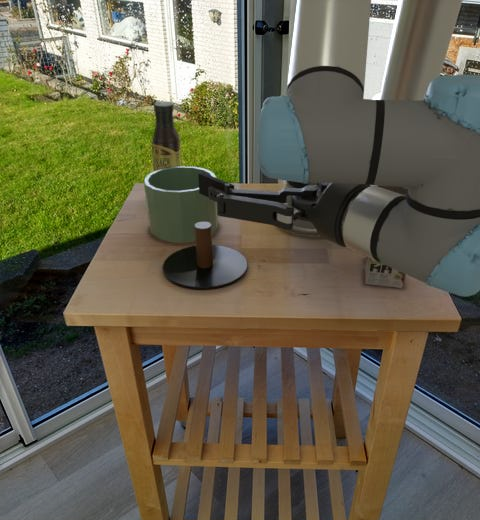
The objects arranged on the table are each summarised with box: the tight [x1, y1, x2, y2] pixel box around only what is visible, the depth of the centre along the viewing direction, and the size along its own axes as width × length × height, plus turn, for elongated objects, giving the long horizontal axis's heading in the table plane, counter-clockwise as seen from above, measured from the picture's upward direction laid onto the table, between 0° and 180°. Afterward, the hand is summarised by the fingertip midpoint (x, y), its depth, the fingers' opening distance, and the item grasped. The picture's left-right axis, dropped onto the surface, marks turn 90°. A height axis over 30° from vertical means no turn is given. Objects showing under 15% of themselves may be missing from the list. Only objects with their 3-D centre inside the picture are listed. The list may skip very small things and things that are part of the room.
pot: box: [143, 165, 219, 243], centre depth 98 cm, size 14×14×10 cm
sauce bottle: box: [151, 100, 182, 172], centre depth 110 cm, size 7×6×20 cm
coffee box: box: [364, 186, 408, 289], centre depth 81 cm, size 9×6×16 cm
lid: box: [162, 222, 248, 291], centre depth 85 cm, size 15×15×9 cm
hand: (239, 171), depth 70 cm, fingers open, 13 cm apart
